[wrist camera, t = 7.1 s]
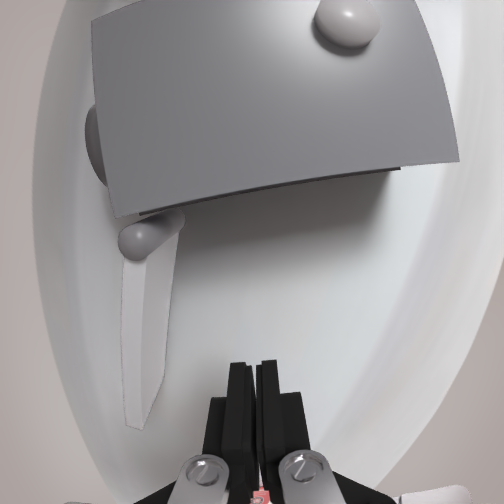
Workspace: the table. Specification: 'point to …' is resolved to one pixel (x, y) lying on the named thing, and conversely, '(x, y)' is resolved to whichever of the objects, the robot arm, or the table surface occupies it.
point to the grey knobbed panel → (260, 97)
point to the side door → (146, 308)
